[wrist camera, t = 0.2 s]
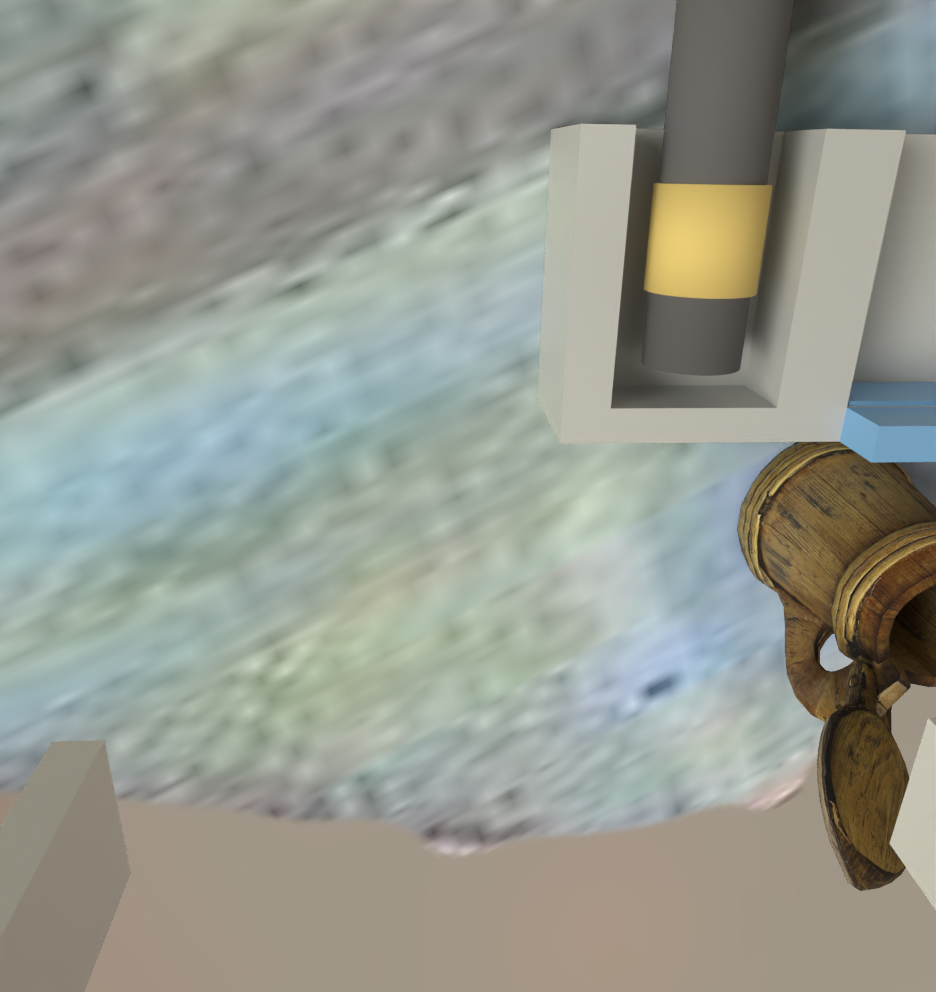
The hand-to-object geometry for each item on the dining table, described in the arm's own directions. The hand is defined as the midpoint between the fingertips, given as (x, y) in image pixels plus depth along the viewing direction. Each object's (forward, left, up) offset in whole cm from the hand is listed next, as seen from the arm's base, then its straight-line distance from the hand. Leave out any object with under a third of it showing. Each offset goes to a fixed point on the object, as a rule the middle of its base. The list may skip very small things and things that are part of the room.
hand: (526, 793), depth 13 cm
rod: (-11, +10, -24) cm, 28 cm away
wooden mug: (+9, +18, -28) cm, 34 cm away
